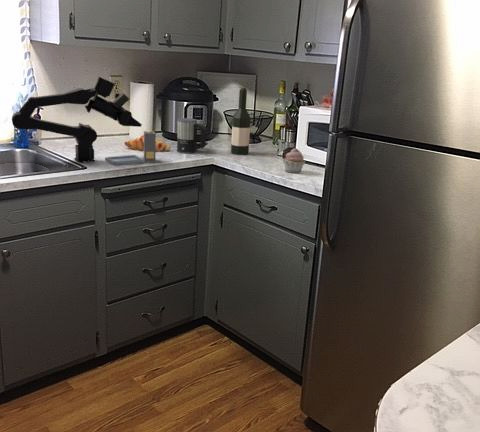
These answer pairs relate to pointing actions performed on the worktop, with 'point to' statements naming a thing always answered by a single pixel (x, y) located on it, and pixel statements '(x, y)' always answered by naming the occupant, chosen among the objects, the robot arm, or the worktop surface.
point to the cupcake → (294, 161)
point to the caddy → (149, 146)
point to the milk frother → (190, 135)
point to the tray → (124, 160)
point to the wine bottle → (241, 127)
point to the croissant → (139, 144)
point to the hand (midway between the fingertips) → (138, 123)
